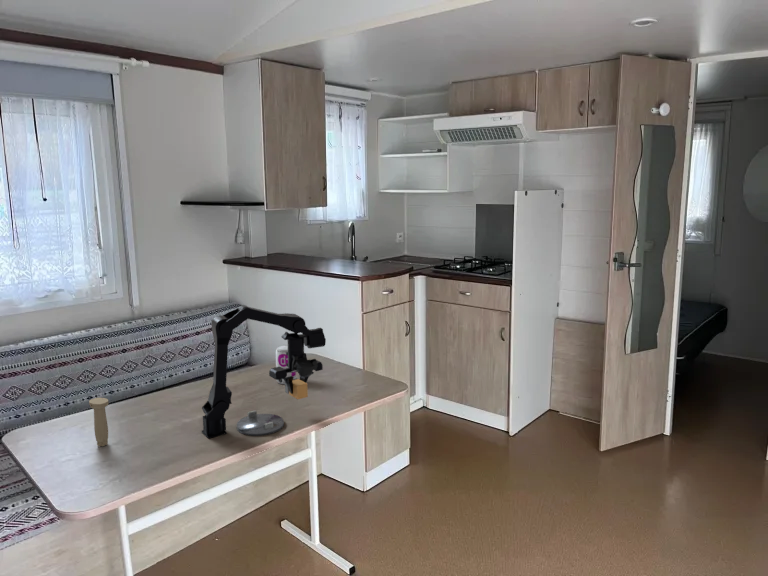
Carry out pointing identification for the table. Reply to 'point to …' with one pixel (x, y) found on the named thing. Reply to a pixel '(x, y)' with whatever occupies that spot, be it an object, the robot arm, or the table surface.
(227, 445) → the table surface
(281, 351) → the supplement can
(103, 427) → the handle
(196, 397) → the table surface
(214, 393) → the robot arm
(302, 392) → the tan and grey block
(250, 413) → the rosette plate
